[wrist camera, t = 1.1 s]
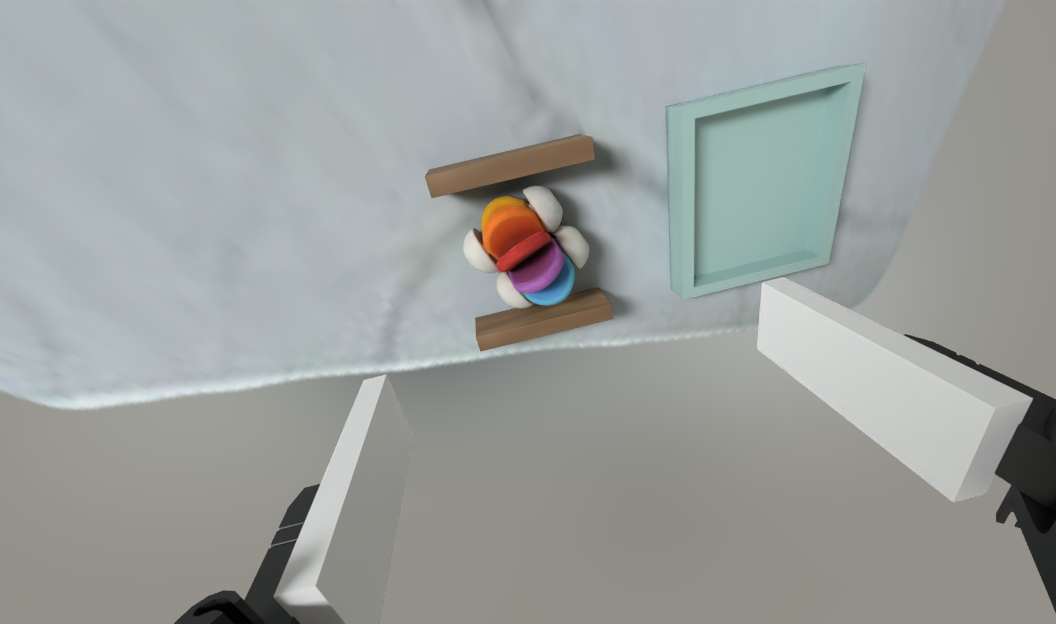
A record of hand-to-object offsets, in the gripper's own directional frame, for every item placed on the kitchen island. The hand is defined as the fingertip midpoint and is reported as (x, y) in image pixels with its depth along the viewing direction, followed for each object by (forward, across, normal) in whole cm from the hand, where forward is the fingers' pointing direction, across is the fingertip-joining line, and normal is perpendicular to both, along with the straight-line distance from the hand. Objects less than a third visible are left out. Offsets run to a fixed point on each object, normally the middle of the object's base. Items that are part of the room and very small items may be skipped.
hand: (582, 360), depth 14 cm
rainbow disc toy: (+22, 0, -2) cm, 22 cm away
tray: (+22, +20, -2) cm, 30 cm away
